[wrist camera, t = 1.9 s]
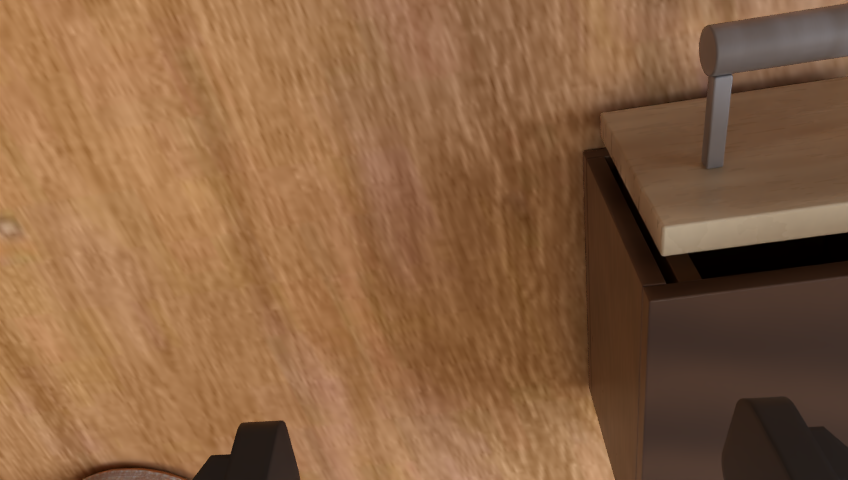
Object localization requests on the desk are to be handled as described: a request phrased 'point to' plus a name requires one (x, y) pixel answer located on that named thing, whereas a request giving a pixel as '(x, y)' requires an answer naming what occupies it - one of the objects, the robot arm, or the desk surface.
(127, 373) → the desk surface
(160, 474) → the planter
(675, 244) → the drawer
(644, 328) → the cabinet
